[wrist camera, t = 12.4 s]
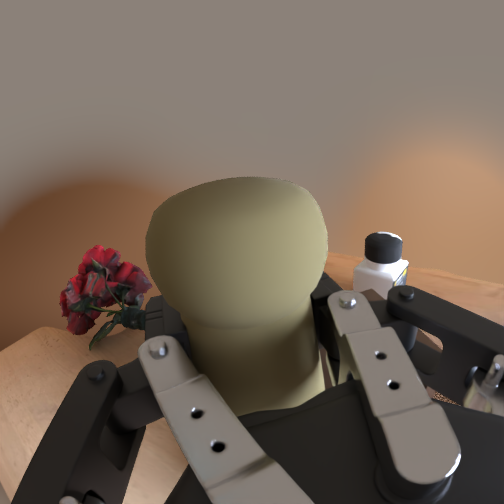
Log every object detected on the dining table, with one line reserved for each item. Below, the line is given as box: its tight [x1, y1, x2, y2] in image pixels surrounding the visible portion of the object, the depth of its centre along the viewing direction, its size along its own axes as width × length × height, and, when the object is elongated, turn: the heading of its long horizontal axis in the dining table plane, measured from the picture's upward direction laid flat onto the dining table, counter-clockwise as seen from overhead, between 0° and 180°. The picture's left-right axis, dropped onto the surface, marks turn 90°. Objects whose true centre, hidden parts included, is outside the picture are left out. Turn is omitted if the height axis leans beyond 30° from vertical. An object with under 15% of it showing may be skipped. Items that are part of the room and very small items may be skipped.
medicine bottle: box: [353, 232, 408, 300], centre depth 49 cm, size 7×7×12 cm
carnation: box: [59, 245, 152, 350], centre depth 47 cm, size 16×18×35 cm
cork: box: [146, 177, 328, 417], centre depth 11 cm, size 6×6×11 cm
